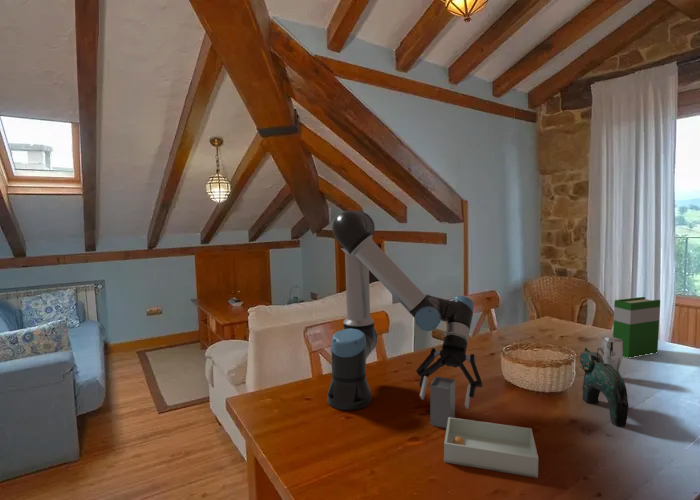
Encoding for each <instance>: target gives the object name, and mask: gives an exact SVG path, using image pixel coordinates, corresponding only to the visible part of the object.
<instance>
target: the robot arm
mask: <svg viewBox="0 0 700 500" xmlns="http://www.w3.org/2000/svg"><path fill="white" fill-rule="evenodd" d="M374 221H375V220H374V219H373V218H372V216H371V215H369V214H368V213H366V212H365V211H362V210H345V211H343V212H340V213H339V214H337V216H336V217H335V219H334V220H333V222H332V228H331V229H332V234H333V236H334V239H335V240H336V241H337V243H339V245H340V250H341V251H343V253H344V254H345V255H344V258H345V259H344V263H345V265H344V267H345V268H344V269H345V293H346V295H345V296H346V299H345V300H346V318H344V320H343V322H342V325H343V326H342V328H343V329H342V330H338V331H336V332H334V334H333V335H332V336H331V342H330V349H331V381H330V384H329V388H328V391H327V404H328V405H329V406H330V407H332V408H334V409H336V410H341V411H356V410H357V411H358V410H361V409H364V408H366V407H368V406H369V405H370V404H371V403H372V392H371V391H372V390H371V388H370V385H369V382H368V380H367V359H368V358H369V356H370V354H372V352H373V351H374V349H375V348H376V345H377V343H378V332H377V329H376V327H375V320H374V319H373V318H372V317H371V306H370V305H371V304H370V302H371V300H370V299H371V298H370V273H371V274H372V275H373V276H374V277H375V278H376V279H377V280H378V281H379V282H380V283H381V284H382V286H383V287H384V288H386V289H387V291H388V292H389V293H390V294H391V295H392V296H393V297H394V298H395V299H396V300H397V302H399V303H400V304H401V306H403V307H404V309H405V310H406V311H408V313H409V314H410V315H411V316H412V317H413V318H414V320H415V324H416V326H417V327H418V328H419V329H420V330H422V331H425V332H431V331H434V330H435V329H437V328H438V326H439V324H440V322H441V321H442V322H445V323H446V322H447V324H446V329H445V333H444V337H443V343H442V346H441V350H437V349H436V348H435V347H434V348H433V347H432V348H431V351H430V353H429V355H428V356H427V357H426V358H425V359H424V360H423V361H422V363H421V364H420V365H419V366H418V368H417V369H416V370H415V371H416V373H417V375H418V376H420V379H419V383H418V384H419V387H420V393H419V398H420V399H421V400H425V395H426V391H427V386H428V382H429V379H428V377H430V376H431V375H433V373H434V372H436V371H437V370H439V369H440V368H442V367H444V366H446V367H452V368H459V369H460V370H461V372H462V373H463V375H464V377H465V378H466V380H467V381H468V382H469V383H467V388H466V395H465V400H464V407H465V409H466V410H469V409H470V408H469V407H470V402H471V398H474V397H475V394H476V393H475V392H476V389H477V388H482V387H483V382H482V379H481V376H480V374H479V371H478V367H477V365H476V358H475V357H476V356H475V354H474V353H471V354H468V355H467V354H466V353H467V348H468V341H469V338H470V337H469V336H470V333H471V332H470V330H471V325H472V321H473V316H474V309H475V308H474V305H475V304H474V300H472V299H471V298H469V297H468V296H465V295H461V296H460V295H456V296H454V297H453V298H452V300H450V299H444V298H441V297H437V296H433V295H430V294H425V293H423V292H422V290H421V289H420V288H419V287H418V286H417V285H416V284H415V283H414V282H413V281H412V279H410V278H409V276H407V275H406V273H405V272H404V271H403V270H402V269H401V268H400V267H399V266H398V265H397V264H396V263H395V262H394V261H393V260H392V259H391V258H390V257H389V256H388V255H387V254H386V252H384V250H382V249H381V247H379V246H378V244H377V243H376V242H375V241H374V240H373V236H374V234H375V229H376V227H375V222H374ZM438 356H440V357H439V358H438ZM435 358H437V360H436V361H435V362H434V360H435ZM465 361H467V362H468V363H470V365H471V368H472V371H473V374H474V377H475V380H474V379H473V378H474V377H472V375H471V374H470V373H469V371H468V370H467V368H466V367H465V365H464V363H465Z"/></svg>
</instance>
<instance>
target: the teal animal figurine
mask: <svg viewBox="0 0 700 500" xmlns="http://www.w3.org/2000/svg"><path fill="white" fill-rule="evenodd" d="M599 351H600V352H602V353H603V355H604V352H603V350H602V349H601V347H597V351H596V352H594V351H593V352H592V351H590V350H589V349H588V348H587V347H585V348H584V351H583V352H581V354H580V357H579V365H580V368H581V369H582V370H583V371H584V375H583V381H582V401H584V402H585V403H587V404H589V405H590V404H591V405H592V404H593V405H595V404H596V405H598V404H599V396H600V394H601V393H602V394H603V395H604V396H605V398H606V400H607V404H608V409H609V417H610V422H611V424H612V425H613V426H615V427H626V425H627V420H628V413H629V400H628V398H629V397H628V391H627V386H626V384H625V380H624V379H623V376H622V375H621V372H620V371H619V372H620V373H619V372H618V371H617V370H616V369H615V368H614V367H612V366H611V365H610V364H605V363H604V361H603V359H602V355H601V354H600V353H599Z"/></svg>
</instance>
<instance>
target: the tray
mask: <svg viewBox="0 0 700 500" xmlns="http://www.w3.org/2000/svg"><path fill="white" fill-rule="evenodd" d="M456 436H460V437H461V438H463V440H464V445H459V444H453V439H454V438H455V437H456ZM443 442H444V444H443V451H444V452H443V453H444V454H443V463H447V464H453V465H459V466H465V467H471V468H477V469H482V470H483V469H484V470H490V471H495V472H501V473H506V474H513V475H518V476H525V477H529V478H536V479H538V478H539V455H538V451H537V450H538V449H537V446H536V442H535V438H534V434H533V428H531V427H524V426H517V425H511V424H501V423H496V422H495V423H494V422H487V421H479V420H473V419H465V418H458V417H455V418H452V417H448V423H447V429H445V437H444V441H443Z"/></svg>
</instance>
